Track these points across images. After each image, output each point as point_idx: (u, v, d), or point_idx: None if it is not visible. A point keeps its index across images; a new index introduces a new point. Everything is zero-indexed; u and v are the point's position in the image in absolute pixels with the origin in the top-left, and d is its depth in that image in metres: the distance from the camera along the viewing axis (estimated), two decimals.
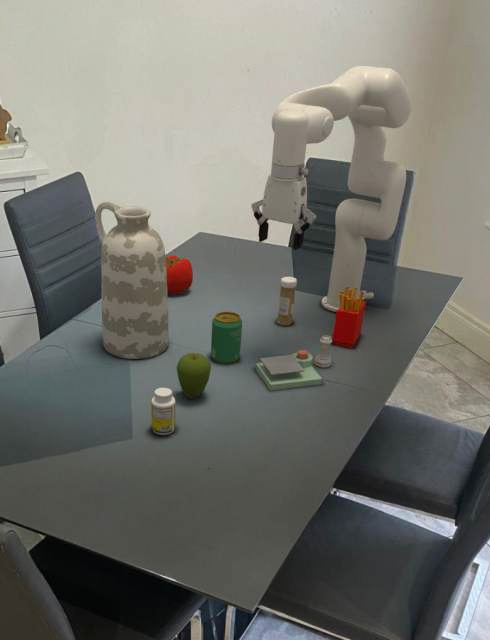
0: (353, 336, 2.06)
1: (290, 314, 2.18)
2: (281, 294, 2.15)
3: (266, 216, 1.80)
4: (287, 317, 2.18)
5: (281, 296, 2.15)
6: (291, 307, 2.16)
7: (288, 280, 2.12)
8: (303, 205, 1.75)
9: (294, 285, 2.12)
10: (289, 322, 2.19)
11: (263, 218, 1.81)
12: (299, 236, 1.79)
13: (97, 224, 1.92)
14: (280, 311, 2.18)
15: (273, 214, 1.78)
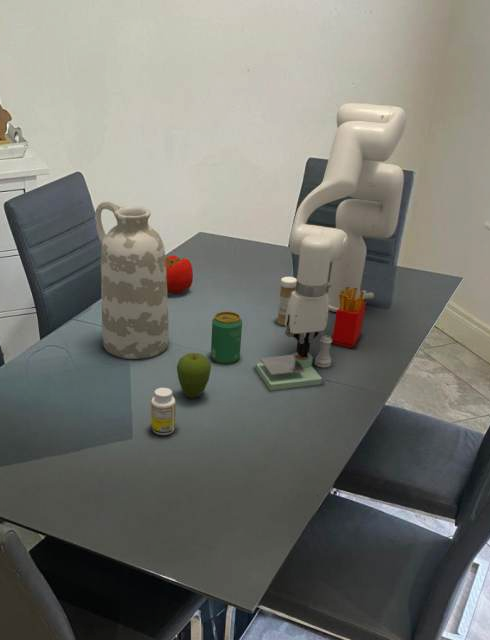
0: (353, 336, 2.06)
1: None
2: (281, 294, 2.15)
3: (296, 331, 1.89)
4: None
5: (281, 296, 2.15)
6: None
7: (288, 280, 2.12)
8: None
9: (294, 285, 2.12)
10: None
11: (302, 336, 1.91)
12: (308, 344, 1.94)
13: (97, 224, 1.92)
14: (280, 311, 2.18)
15: (303, 328, 1.89)
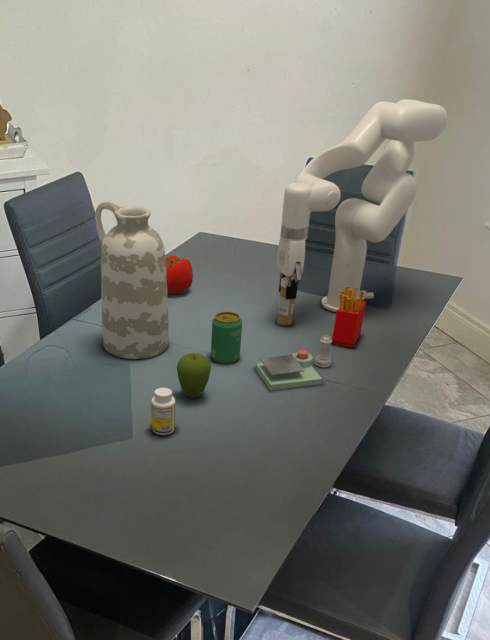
0: (353, 336, 2.06)
1: (290, 314, 2.18)
2: (281, 294, 2.15)
3: None
4: (287, 317, 2.18)
5: (281, 296, 2.15)
6: (291, 307, 2.16)
7: None
8: None
9: None
10: (289, 322, 2.19)
11: None
12: None
13: (97, 224, 1.92)
14: (280, 311, 2.18)
15: None
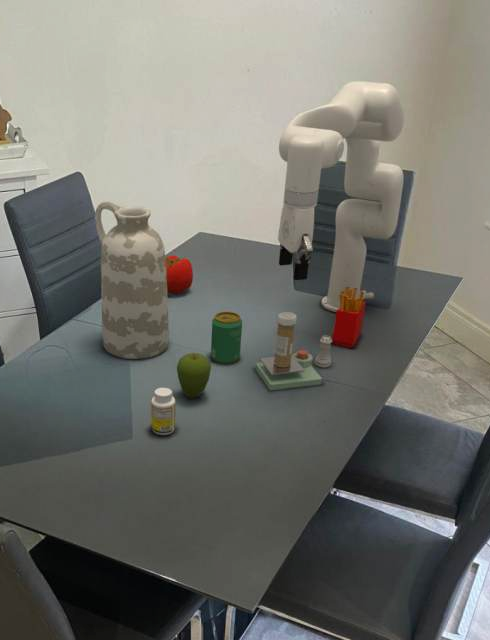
0: (353, 336, 2.06)
1: (289, 355, 1.89)
2: (278, 332, 1.86)
3: None
4: (285, 358, 1.89)
5: (278, 334, 1.86)
6: (290, 347, 1.87)
7: (286, 316, 1.83)
8: None
9: (293, 322, 1.83)
10: (288, 363, 1.90)
11: None
12: None
13: (97, 224, 1.92)
14: (277, 351, 1.89)
15: None
